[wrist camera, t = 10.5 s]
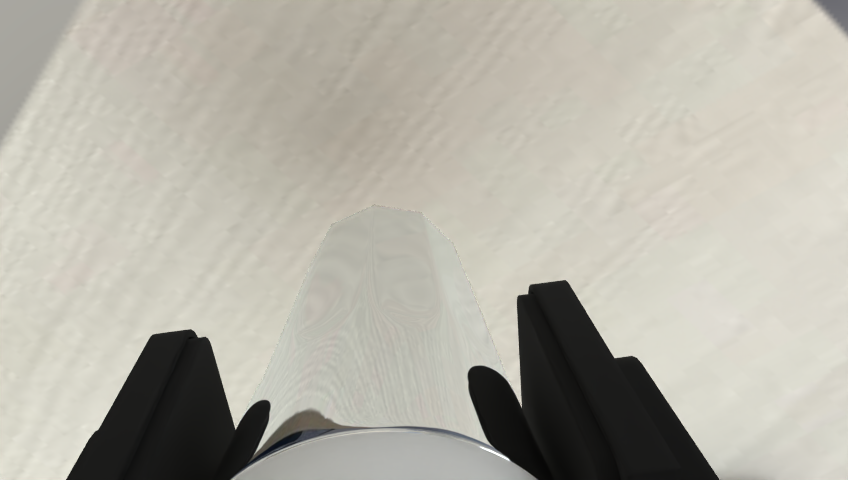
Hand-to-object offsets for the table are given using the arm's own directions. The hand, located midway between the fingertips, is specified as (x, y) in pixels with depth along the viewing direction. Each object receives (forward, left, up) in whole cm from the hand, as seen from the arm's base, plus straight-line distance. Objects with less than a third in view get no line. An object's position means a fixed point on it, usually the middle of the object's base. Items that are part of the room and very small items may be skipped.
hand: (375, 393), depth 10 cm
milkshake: (0, 0, -5) cm, 5 cm away
